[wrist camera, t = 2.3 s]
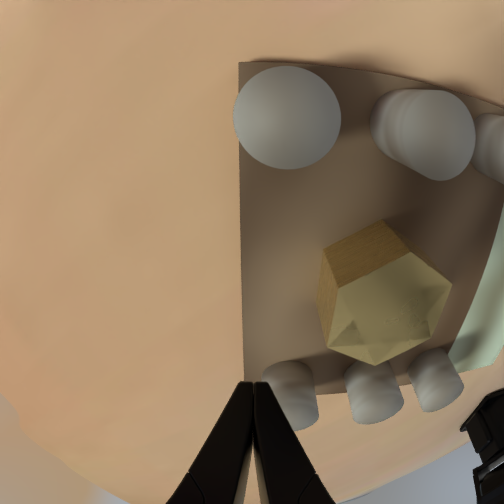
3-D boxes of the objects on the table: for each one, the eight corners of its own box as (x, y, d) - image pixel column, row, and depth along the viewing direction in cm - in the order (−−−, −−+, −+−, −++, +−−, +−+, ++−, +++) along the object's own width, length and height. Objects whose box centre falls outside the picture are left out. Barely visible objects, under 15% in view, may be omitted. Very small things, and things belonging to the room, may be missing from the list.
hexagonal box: (428, 221, 12) (462, 252, 10) (400, 320, 15) (420, 359, 12) (325, 217, 12) (344, 251, 10) (312, 325, 15) (321, 370, 12)
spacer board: (562, 138, 10) (603, 155, 7) (488, 358, 18) (508, 390, 15) (239, 64, 10) (232, 48, 7) (245, 386, 19) (243, 436, 15)
